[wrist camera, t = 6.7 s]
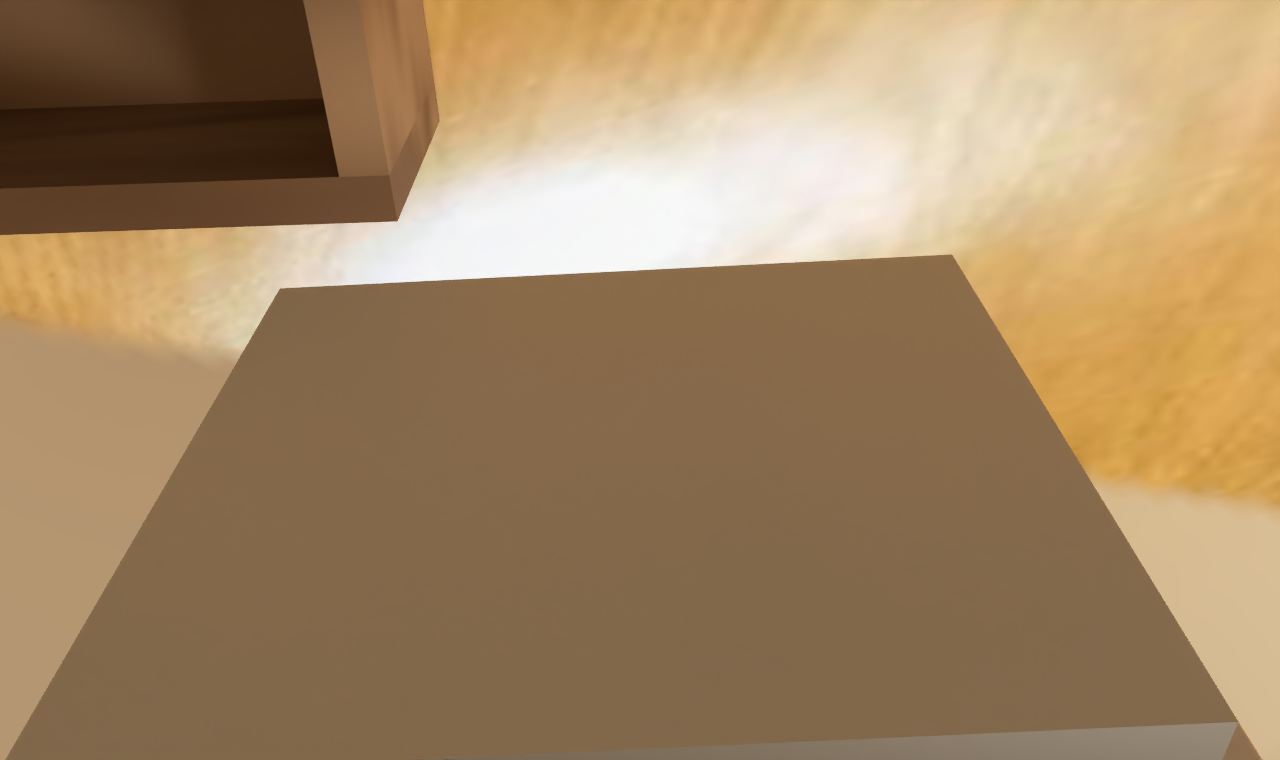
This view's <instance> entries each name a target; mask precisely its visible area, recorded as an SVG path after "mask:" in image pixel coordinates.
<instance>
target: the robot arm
mask: <svg viewBox="0 0 1280 760" xmlns="http://www.w3.org/2000/svg"><path fill="white" fill-rule="evenodd" d="M1222 760H1262V759H1261V757H1260V755H1259V754H1258V752H1257V751H1256V749H1255V747H1254V746H1253V744H1252V743H1251V741H1250V740H1249V738H1248V736H1247V735H1246V733H1245V732H1244V730H1243V728H1242V727H1241V725H1240V724H1239V722H1238V724H1237V726H1236V729H1235V731H1234V733H1233V736H1232V738H1231V740H1230V743H1229V745H1228V748H1227V750H1226V752H1225V755H1224V757H1223V759H1222Z"/></svg>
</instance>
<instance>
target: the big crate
mask: <svg viewBox="0 0 1280 760" xmlns="http://www.w3.org/2000/svg"><path fill="white" fill-rule="evenodd" d="M438 123H439V114H438V107H437V100H436V93H435V86H434V79H433V72H432V64H431V57H430V50H429V43H428V36H427V29H426V22H425V15H424V8H423V1H422V0H0V235H12V234H41V233H70V232H99V231H128V230H157V229H186V228H215V227H244V226H273V225H302V224H331V223H360V222H389V221H398V218H399V216H400V214H401V211H402V209H403V207H404V204H405V202H406V199H407V197H408V195H409V192H410V190H411V188H412V185H413V183H414V180H415V178H416V176H417V173H418V171H419V169H420V166H421V164H422V161H423V159H424V157H425V154H426V152H427V149H428V147H429V145H430V142H431V140H432V138H433V135H434V133H435V130H436V128H437V126H438Z"/></svg>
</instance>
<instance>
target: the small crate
mask: <svg viewBox="0 0 1280 760" xmlns="http://www.w3.org/2000/svg"><path fill="white" fill-rule="evenodd" d="M1237 724H1238V720H1237V719H1236V717H1235V716H1234V714H1233V712H1232V711H1231V709H1230V707H1229V706H1228V704H1227V703H1226V701H1225V699H1224V698H1223V696H1222V694H1221V693H1220V691H1219V689H1218V688H1217V686H1216V685H1215V683H1214V681H1213V680H1212V678H1211V676H1210V675H1209V673H1208V672H1207V670H1206V668H1205V667H1204V665H1203V663H1202V662H1201V660H1200V659H1199V657H1198V655H1197V654H1196V652H1195V650H1194V649H1193V647H1192V645H1191V644H1190V642H1189V641H1188V639H1187V637H1186V636H1185V634H1184V632H1183V631H1182V629H1181V628H1180V626H1179V624H1178V623H1177V621H1176V619H1175V618H1174V616H1173V614H1172V613H1171V612H1170V610H1169V608H1168V606H1167V605H1166V603H1165V601H1164V600H1163V598H1162V596H1161V595H1160V593H1159V592H1158V590H1157V588H1156V587H1155V585H1154V584H1153V582H1152V580H1151V579H1150V577H1149V575H1148V574H1147V572H1146V570H1145V569H1144V567H1143V566H1142V564H1141V562H1140V561H1139V559H1138V557H1137V556H1136V554H1135V553H1134V551H1133V549H1132V548H1131V546H1130V544H1129V543H1128V542H1127V539H1126V538H1125V536H1124V535H1123V533H1122V531H1121V530H1120V528H1119V526H1118V525H1117V523H1116V522H1115V520H1114V518H1113V517H1112V515H1111V513H1110V512H1109V510H1108V509H1107V507H1106V505H1105V504H1104V502H1103V500H1102V499H1101V497H1100V495H1099V494H1098V492H1097V490H1096V489H1095V487H1094V486H1093V484H1092V482H1091V481H1090V479H1089V477H1088V476H1087V474H1086V473H1085V471H1084V469H1083V468H1082V466H1081V464H1080V463H1079V461H1078V459H1077V458H1076V456H1075V455H1074V453H1073V451H1072V450H1071V448H1070V446H1069V445H1068V443H1067V442H1066V440H1065V438H1064V437H1063V435H1062V433H1061V432H1060V430H1059V428H1058V427H1057V425H1056V424H1055V422H1054V420H1053V419H1052V417H1051V415H1050V414H1049V412H1048V411H1047V409H1046V407H1045V406H1044V404H1043V402H1042V401H1041V399H1040V398H1039V396H1038V394H1037V393H1036V391H1035V389H1034V388H1033V386H1032V384H1031V383H1030V381H1029V380H1028V378H1027V376H1026V375H1025V373H1024V371H1023V370H1022V368H1021V367H1020V365H1019V363H1018V362H1017V360H1016V358H1015V357H1014V355H1013V353H1012V352H1011V350H1010V349H1009V347H1008V345H1007V344H1006V342H1005V340H1004V339H1003V337H1002V336H1001V334H1000V332H999V331H998V329H997V327H996V326H995V324H994V322H993V321H992V319H991V318H990V316H989V314H988V313H987V311H986V309H985V308H984V306H983V305H982V303H981V301H980V300H979V298H978V296H977V295H976V293H975V291H974V290H973V288H972V287H971V285H970V283H969V282H968V280H967V278H966V277H965V275H964V274H963V272H962V270H961V269H960V267H959V265H958V264H957V262H956V260H955V259H954V257H953V256H952V255H937V256H917V257H897V258H877V259H857V260H838V261H818V262H798V263H778V264H758V265H739V266H719V267H699V268H679V269H660V270H640V271H620V272H600V273H580V274H561V275H541V276H521V277H501V278H481V279H462V280H442V281H422V282H402V283H383V284H363V285H343V286H323V287H303V288H284V289H280V290H279V291H278V293H277V295H276V296H275V298H274V300H273V302H272V303H271V305H270V307H269V308H268V310H267V312H266V314H265V315H264V317H263V319H262V320H261V322H260V324H259V326H258V327H257V329H256V331H255V332H254V334H253V336H252V338H251V339H250V341H249V343H248V344H247V346H246V348H245V350H244V351H243V353H242V355H241V357H240V358H239V360H238V362H237V363H236V365H235V367H234V369H233V370H232V372H231V374H230V375H229V377H228V379H227V381H226V382H225V384H224V386H223V388H222V389H221V391H220V393H219V394H218V396H217V398H216V400H215V401H214V403H213V405H212V406H211V408H210V410H209V411H208V413H207V415H206V417H205V418H204V420H203V422H202V423H201V425H200V427H199V429H198V430H197V432H196V434H195V435H194V437H193V439H192V441H191V443H190V444H189V446H188V448H187V449H186V451H185V453H184V454H183V456H182V458H181V459H180V461H179V463H178V465H177V467H176V468H175V470H174V472H173V473H172V475H171V477H170V478H169V480H168V482H167V484H166V485H165V487H164V489H163V490H162V492H161V494H160V495H159V498H158V499H157V501H156V502H155V504H154V506H153V508H152V509H151V511H150V513H149V514H148V516H147V518H146V520H145V521H144V523H143V525H142V526H141V528H140V530H139V532H138V533H137V535H136V537H135V539H134V540H133V542H132V544H131V545H130V547H129V549H128V550H127V552H126V554H125V556H124V557H123V559H122V561H121V562H120V564H119V566H118V568H117V569H116V571H115V573H114V574H113V576H112V578H111V580H110V582H109V583H108V585H107V586H106V588H105V590H104V592H103V594H102V595H101V597H100V599H99V600H98V602H97V604H96V605H95V607H94V609H93V611H92V612H91V614H90V616H89V617H88V619H87V621H86V622H85V624H84V626H83V628H82V629H81V631H80V633H79V634H78V636H77V638H76V640H75V642H74V643H73V645H72V646H71V648H70V650H69V652H68V654H67V655H66V657H65V658H64V660H63V662H62V664H61V665H60V667H59V669H58V670H57V672H56V674H55V676H54V677H53V679H52V681H51V683H50V684H49V686H48V688H47V689H46V691H45V693H44V695H43V696H42V698H41V700H40V701H39V703H38V705H37V707H36V708H35V710H34V712H33V714H32V715H31V717H30V719H29V720H28V722H27V724H26V725H25V727H24V729H23V731H22V732H21V734H20V736H19V738H18V739H17V741H16V743H15V744H14V746H13V748H12V749H11V751H10V753H9V755H8V756H7V758H6V760H1222V759H1223V757H1224V755H1225V752H1226V750H1227V748H1228V745H1229V743H1230V740H1231V738H1232V736H1233V733H1234V731H1235V729H1236V726H1237Z"/></svg>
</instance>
